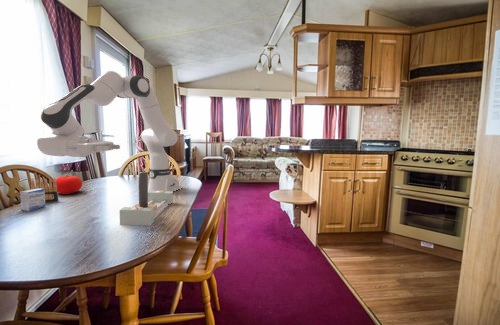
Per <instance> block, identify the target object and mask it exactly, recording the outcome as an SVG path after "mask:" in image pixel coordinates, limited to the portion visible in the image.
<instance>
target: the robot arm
mask: <svg viewBox="0 0 500 325" xmlns="http://www.w3.org/2000/svg"><path fill="white" fill-rule="evenodd" d="M116 98H120V99H133V98H134V99H135V100H136V102H137V106H138V108H139V112H140V114H141V117H142V120H143V122H144V123H145V124H146V125H148V126H149V128H145V129H144V130H143V131H141V141H143V144H145V147H146V148H147V152H148V156H149V169H148V176H149V178H148V180H149V181H148V192H149V191H171V192H173V191H175V192H177V191H176V190H178V189H180V190H182V189H181V188H183V189H184V187H183V186H181V185H180V181H179V179H178V178H177V177H175V176H174V175H173V174H172V173H173V172H174V171H175V170H174V168H170V166H169V165H170V163H169V162H170V161H169V159H170V158H169V157H170V156H169V155H168V154H167V152H166V150H165V148H164V147H171V146H174V145H176V143H177V142H178V134H177V131H175V130H174V129H173V128H172V127H171V126H170V125H169V124H168V122H167V121H166V119H165V117H164V116H163V113H162V110H161V107H160V103H159V101H158V100H159V99H158V98H157V95H156V93H155V91H154V90H153V88H152V87H151V86H150V83H149V81H148V80H147V79H146V78H145V76H142V75H138V74H137V75H128V76H123V77H122V75H121V74H119V73H118V72H116V71H112V70H109V71H106V72H105V73H103V74H102V75H100V76H99V77H97V78H96V80H94V81H93V82H92V83H84V84H82V85H79V86H77V87H76V88H74V89H73V90H71V91H70V92H68V93H67V94H65V95H63V96H62V97H61V98H60V99H58V100H56V101H54V102H53V103H50V104H48V105H46V106H45V107H44V108H43V109H42V111H41V114H40V119H41V121H42V122H43V123H44V124H45V125H46V126H48V127H49V128H50V129H51V130H52V131H51V132H49V133H48V134H46V135H41V136H39V137H38V138H37V141H36V144H37V145H36V146H37V149H38V150H39V151H40V152H41V153H42V154H43V155H46V156H51V157H66V156H67V157H72V158H86V157H87V156H89V155H91V154H95V153H100V152H108V151H114V150H120V149H121V145H120V144H114V142H113V141H109V140H99V139H96V138H94V137H93V138H92V137H91V138H90V137H88V136H85V135H84V133H85V130H84V128H83V126H82V125H81V123H79V121H78V120H77V119H76V118H75V116H74V115H73V109H75V108H76V107H77V106H79V105H80V104H81V103H83V102H84V101H88V102H89V103H91V104H93V105H95V106H101V107H104V106H108V105H110V104H111V103H112V102H113V101H114V100H115V99H116ZM178 191H179V190H178ZM173 193H174V192H173Z"/></svg>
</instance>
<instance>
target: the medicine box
mask: <svg viewBox="0 0 500 325" xmlns="http://www.w3.org/2000/svg"><path fill="white" fill-rule="evenodd" d="M19 194H20V195H19V196H20V210H21V211H25V212H26V211H27V212H31V211H34V209H35V210H38V209H42V208H44V207H46V202H45V190H44V189H41V188H37V189H32V190H31V189H28V190H27V189H26V190H24V191H23V190H22V191H19ZM41 207H42V208H41ZM37 208H38V209H37Z"/></svg>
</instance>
